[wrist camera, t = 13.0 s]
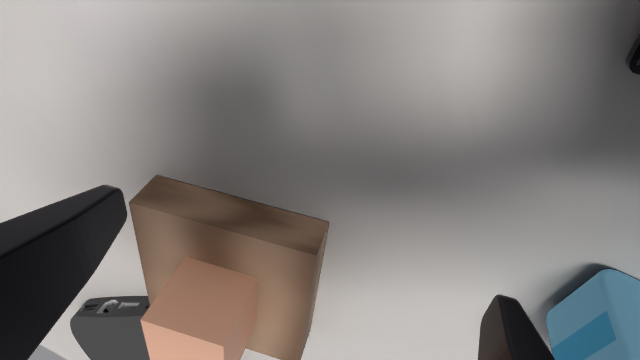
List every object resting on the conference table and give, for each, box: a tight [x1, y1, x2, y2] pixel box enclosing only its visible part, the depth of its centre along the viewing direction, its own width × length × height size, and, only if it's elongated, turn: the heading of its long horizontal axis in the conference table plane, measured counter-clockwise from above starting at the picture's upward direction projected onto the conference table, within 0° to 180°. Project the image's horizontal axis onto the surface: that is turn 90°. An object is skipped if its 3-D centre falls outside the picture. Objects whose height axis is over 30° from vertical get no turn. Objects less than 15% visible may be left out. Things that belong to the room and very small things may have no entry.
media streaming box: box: [70, 296, 150, 360], centre depth 41 cm, size 15×15×3 cm
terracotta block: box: [141, 257, 258, 360], centre depth 27 cm, size 5×5×5 cm
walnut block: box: [129, 175, 329, 360], centre depth 30 cm, size 12×12×3 cm
